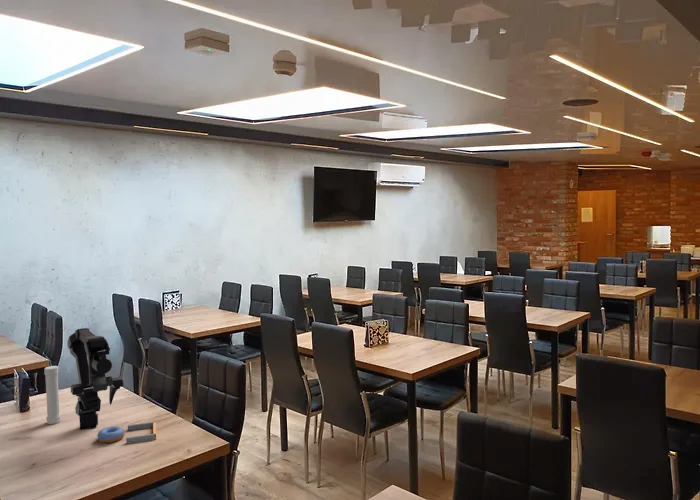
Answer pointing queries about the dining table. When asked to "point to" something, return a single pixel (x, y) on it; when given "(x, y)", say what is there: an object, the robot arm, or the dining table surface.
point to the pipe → (52, 394)
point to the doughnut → (110, 434)
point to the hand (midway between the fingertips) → (98, 406)
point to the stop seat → (142, 437)
